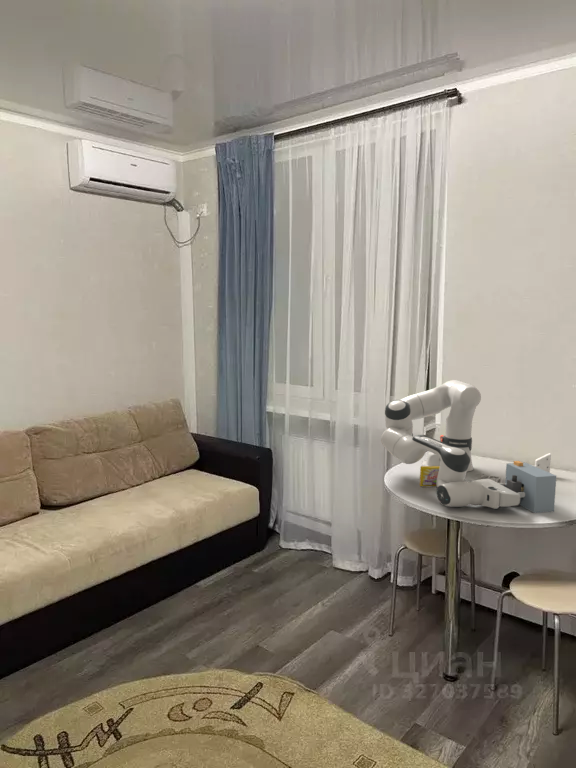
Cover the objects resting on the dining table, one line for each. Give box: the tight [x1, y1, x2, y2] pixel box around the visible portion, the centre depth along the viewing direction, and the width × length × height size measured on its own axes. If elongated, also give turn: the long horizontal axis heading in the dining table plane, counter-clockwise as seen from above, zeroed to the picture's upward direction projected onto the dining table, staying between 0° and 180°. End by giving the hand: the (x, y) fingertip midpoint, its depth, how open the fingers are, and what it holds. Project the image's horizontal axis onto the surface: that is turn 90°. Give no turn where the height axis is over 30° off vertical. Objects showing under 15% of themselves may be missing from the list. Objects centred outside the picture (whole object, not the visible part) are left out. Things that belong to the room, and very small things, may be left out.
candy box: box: [419, 466, 440, 487], centre depth 236 cm, size 16×2×8 cm, turn 95°
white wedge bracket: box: [534, 452, 552, 473], centre depth 253 cm, size 4×10×9 cm, turn 84°
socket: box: [504, 460, 557, 514], centre depth 216 cm, size 8×18×14 cm, turn 13°
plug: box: [507, 475, 524, 508], centre depth 215 cm, size 8×4×11 cm, turn 103°
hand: (516, 490), depth 215 cm, fingers open, 8 cm apart
